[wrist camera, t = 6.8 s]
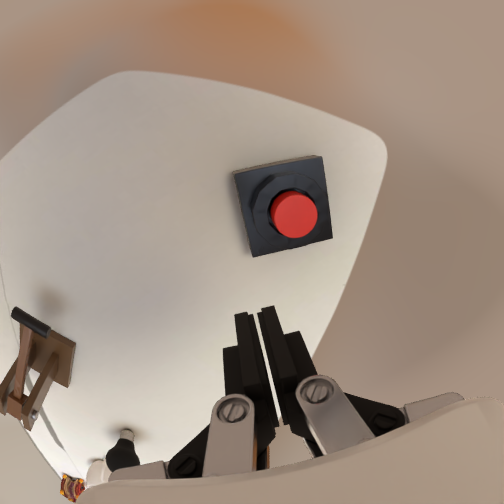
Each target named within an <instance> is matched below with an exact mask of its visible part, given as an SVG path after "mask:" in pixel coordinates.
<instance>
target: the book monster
mask: <svg viewBox="0 0 504 504" xmlns="http://www.w3.org/2000/svg"><path fill="white" fill-rule="evenodd" d="M82 482H83V480H82V479H80V480H79V481H78V479H77V480H76V482H75V480H74V482H73V481H71V479H70V477H69V478H68V477H67V475H65V474H64V475H63V479H62V482H61V490H60V494H62V495H63V496H65V497H66V498H68V500H69V501H72V502H76V500H77V498H78V497H79V495H80V494H81V493H82V492H83V491H84V490H85V487H84V485H83V484H82Z"/></svg>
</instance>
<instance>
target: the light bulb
mask: <svg viewBox="0 0 504 504" xmlns="http://www.w3.org/2000/svg"><path fill="white" fill-rule="evenodd" d="M133 441H134V434H133V433H132V432H131V431H130V430H123V431H122V432H121V435H120V439H119V440H118V441H117V444H116V445H115V446H114V447H113V448H112V449H110V450H109V451H108V452H107V455H106V464H107V467H108V468H109V470H110V471H111V472H114V471H115V470H118V469H121V468H127V467H133V466H138V465H140V461H139V458H138V456H137V455H136V453H135V450H134V443H133Z"/></svg>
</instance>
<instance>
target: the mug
mask: <svg viewBox="0 0 504 504" xmlns="http://www.w3.org/2000/svg"><path fill="white" fill-rule="evenodd" d="M111 473H112V472H111V471H110V470H109V468H108V467H107V464H106V459H104V461H101V460H97V461H95V462H93V463H92V464H91V466H90V468H89V470H88V472H87V477H86V483H87V486H88V487H89V488H90V487H93V486H95V485H98V484H101V483H106V482H108V478H109V476H110V475H111Z"/></svg>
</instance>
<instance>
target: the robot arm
mask: <svg viewBox="0 0 504 504" xmlns="http://www.w3.org/2000/svg"><path fill="white" fill-rule="evenodd" d="M261 310H262V312H259V313H257V315H258V319H259V324H260V328H261V332H262V336H263V341H264V345H265V349H266V353H267V357H268V361H269V366H270V370H271V374H272V378H273V382H274V386H275V390H276V395H277V399H278V403H279V407H280V411H281V415H282V419H283V423H284V425H288V424H289V425H290V429H291V431H292V433H294V434H296V435H298V436H301V437H302V438H303V441H304V443H305V445H306V447H307V449H308V451H309V453H310V455H311V457H312V459H310V460H306V461H302V462H298V463H294V464H290V465H286V466H281V467H276V468H271V469H269V444H270V443H271V441H272V440H273V439H274V438H275V434H276V433H275V427H279V422H278V417H277V413H276V409H275V404H274V400H273V396H272V391H271V387H270V382H269V378H268V374H267V369H266V365H265V361H264V357H263V353H262V349H261V345H260V341H259V336H258V332H257V328H256V324H255V320H254V316H253V314H250V315H248V313H247V312H243V313H239V314H235V315H234V316H235V325H236V334H237V342H238V345H237V346H232V347H227V348H223V364H224V380H225V395H226V396H225V397H222V398H221V399H220V400H218V401H217V402H216V404H215V405H214V407H213V410H212V415H211V421H210V424H209V425H208V426H207V427H206V428H205V429H204V430H202V431H201V432H200V433H199V434H198V435H197V436H196V437H195V438H194V439H193V440H192V441H191V442H189V443H188V444H187V445H186V446H185V447H184V448H183V449H182V450H180V451H179V452H178V453H177V454H176V455H175V456H174V457H173V458H172V459H171V460H170V461H168V462H163V461H158V462H153V463H148V464H143V465H138V466H133V467H127V468H121V469H118V470H115V471H114V472H112V473H111V475H110V476H109V478H108V482H106V483H101V484H98V485H95V486H93V487H90V488H88V489H86V490H85V491H83V492H82V493H81V494H80V495H79V497H78V498H77V500H76V502H75V504H504V404H503V403H502V402H500V401H499V400H497V399H494V398H490V397H477V398H470V399H466V400H465V399H464V398H463V397H462V396H461V395H460V394H458V393H454V392H451V393H445V394H442V395H439V396H436V397H432V398H428V399H424V400H421V401H417V402H413V403H409V404H405V405H404V407H402V408H396V407H393V406H390V405H386V404H383V403H379V402H375V401H371V400H368V399H364V398H360V397H357V396H354V395H351V394H347V393H344V392H343V391H342V390H341V388H340V387H339V386H338V384H337V383H336V382H335V381H334V380H333V379H332V378H330V377H328V376H325V375H318V374H317V372H316V369H315V367H314V365H313V362H312V360H311V357H310V355H309V352H308V350H307V347H306V345H305V343H304V340H303V338H302V335H301V333H300V331H296V332H292V333H288V334H283V331H282V328H281V325H280V322H279V319H278V316H277V313H276V310H275V307H274V306H269V307H265V308H261Z"/></svg>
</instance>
